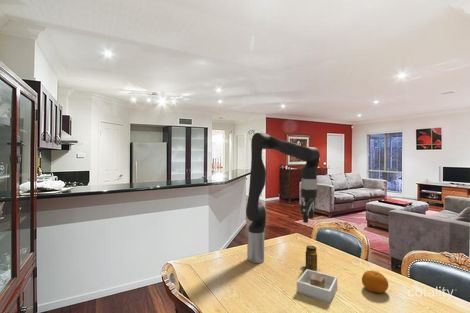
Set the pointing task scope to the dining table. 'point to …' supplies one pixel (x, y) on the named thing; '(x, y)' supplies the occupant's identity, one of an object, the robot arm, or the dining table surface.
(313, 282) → the walnut cube
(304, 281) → the tub
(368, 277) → the fruit
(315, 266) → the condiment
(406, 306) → the dining table surface
